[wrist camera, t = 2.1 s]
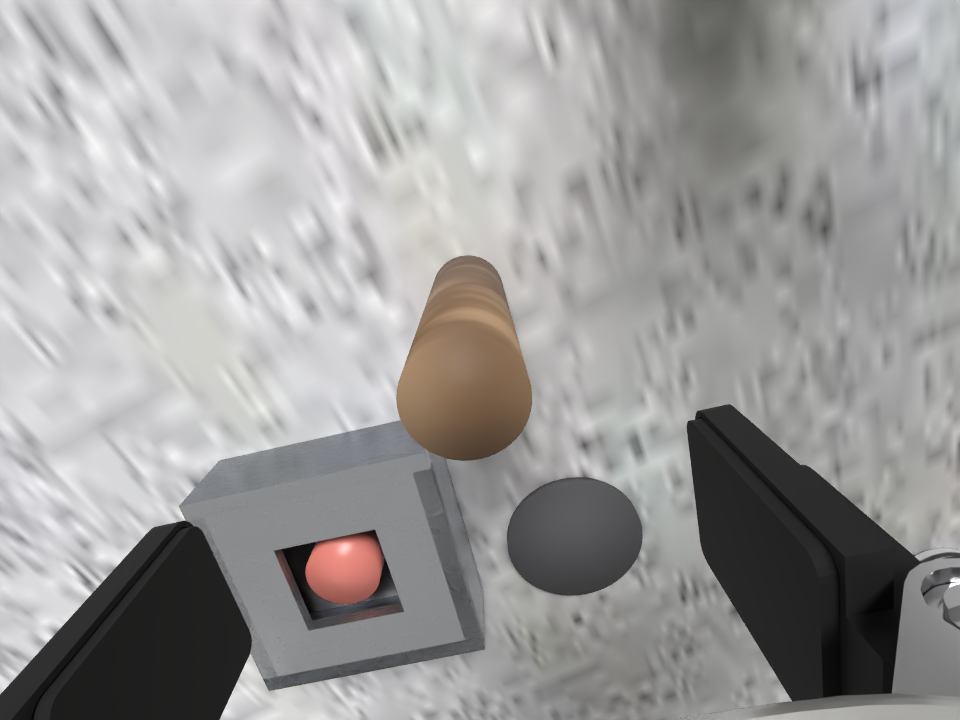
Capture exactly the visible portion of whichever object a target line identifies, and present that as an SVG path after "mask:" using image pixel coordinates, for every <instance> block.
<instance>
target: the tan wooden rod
mask: <svg viewBox="0 0 960 720" xmlns="http://www.w3.org/2000/svg"><path fill="white" fill-rule="evenodd" d="M396 399H397V408H398V413H399V416H400V419H401V421H402V424H403V425H404V427H405V429H406V431H407V432H408V433H409V435H410V436H411V437H412V438H413V439H414V440H415V441H416V442H417V443H418V444H419V445H421V446H422V447H423V448H425V449H426V450H428V451H429V452H431V453H433V454H436V455H438V456H441V457H444V458H447V459H453V460H462V461H465V460H476V459H482V458H485V457H489V456H491V455H493V454H496V453H498V452H499V451H501V450H503V449H504V448H506V447H507V446H509V445H510V444H511V443H512V442H513V441H514V440H515V439H516V438H517V437H518V436H519V434H520V433H521V432H522V430H523V429H524V427H525V425H526V423H527V421H528V418H529V415H530V412H531V406H532V391H531V385H530V381H529V378H528V374H527V370H526V367H525V363H524V360H523V356H522V352H521V349H520V345H519V342H518V338H517V335H516V331H515V327H514V324H513V320H512V317H511V313H510V310H509V306H508V302H507V299H506V295H505V292H504V288H503V284H502V281H501V278H500V276H499V274H498V272H497V270H496V269H495V268H494V267H493V266H492V265H491V264H490V263H489V262H487V261H486V260H484V259H482V258H479V257H476V256H460V257H457V258H454V259H452V260H450V261H449V262H447V263H446V264H445V265H444V266H443V267H442V268H441V269H440V270H439V272H438V274H437V276H436V278H435V281H434V284H433V286H432V289H431V292H430V295H429V298H428V301H427V303H426V306H425V309H424V312H423V315H422V317H421V320H420V323H419V326H418V329H417V332H416V334H415V337H414V340H413V343H412V346H411V349H410V351H409V354H408V357H407V360H406V363H405V366H404V368H403V371H402V374H401V377H400V380H399V383H398V388H397V398H396Z"/></svg>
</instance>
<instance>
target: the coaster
mask: <svg viewBox="0 0 960 720" xmlns="http://www.w3.org/2000/svg"><path fill="white" fill-rule="evenodd" d="M507 542H508V550H509V555H510V558H511V561H512V563H513V565H514V567H515V568H516V570H517V571H518V573H519V574H520V575H521V576H522V577H523V578H524V579H525V580H526V581H528V582H529V583H530V584H532V585H534V586H535V587H537V588H539V589H541V590H544V591H547V592H550V593H554V594H559V595H582V594H588V593H592V592H595V591H598V590H601V589H603V588H605V587H607V586H609V585H611V584H613V583H614V582H616V581H617V580H618V579H620V578H621V577H622V576H623V575H624V574H625V573H626V572H627V571H628V570H629V569H630V568H631V566H632V565H633V564H634V562H635V560H636V558H637V557H638V554H639V552H640V549H641V544H642V526H641V522H640V519H639V516H638V514H637V512H636V510H635V508H634V506H633V505H632V503H631V502H630V500H629V499H628V498H627V497H626V496H625V495H624V494H623V493H622V492H621V491H619V490H618V489H616V488H615V487H613V486H611V485H609V484H607V483H605V482H602V481H599V480H595V479H590V478H580V477H579V478H566V479H560V480H557V481H553V482H550V483H548V484H545V485H543V486H541V487H540V488H538V489H536V490H535V491H533V492H532V493H530V494H529V495H528V496H527V497H526V498H525V499H524V500H523V501H522V502H521V503H520V504H519V505H518V507H517V508H516V510H515V511H514V513H513V515H512V517H511V520H510V523H509V526H508V533H507Z"/></svg>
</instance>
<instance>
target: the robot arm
mask: <svg viewBox="0 0 960 720" xmlns="http://www.w3.org/2000/svg"><path fill="white" fill-rule="evenodd" d="M687 433H688V442H689V450H690V458H691V467H692V475H693V484H694V492H695V501H696V509H697V518H698V526H699V534H700V542H701V547H702V551H703V554H704V556H705V559H706V561H707V563H708V565H709V566H710V568H711V570H712V571H713V573H714V574H715V576H716V578H717V579H718V581H719V583H720V584H721V586H722V588H723V589H724V591H725V592H726V594H727V596H728V597H729V599H730V601H731V602H732V604H733V605H734V607H735V609H736V610H737V612H738V614H739V615H740V617H741V618H742V620H743V622H744V623H745V625H746V627H747V628H748V630H749V632H750V633H751V635H752V636H753V638H754V640H755V641H756V643H757V645H758V646H759V648H760V649H761V651H762V653H763V654H764V656H765V658H766V659H767V661H768V662H769V664H770V666H771V667H772V669H773V671H774V672H775V674H776V676H777V677H778V679H779V680H780V682H781V684H782V685H783V687H784V689H785V690H786V692H787V693H788V695H789V697H790V698H791V700H792V702H783V703H774V704H768V705H761V706H755V707H748V708H742V709H735V710H729V711H723V712H716V713H710V714H704V715H697V716H691V717H685V718H678V719H672V720H960V558H948V559H936V560H932V561H928V562H925V563H922V562H921V561H919V560H918V559H917V558H916V557H915V556H914V555H912V554H911V553H910V552H909V551H908V550H907V549H905V548H904V547H903V546H902V545H901V544H900V543H898V542H897V541H896V540H895V539H894V538H892V537H891V536H890V535H889V534H888V533H887V532H885V531H884V530H883V529H882V528H881V527H880V526H878V525H877V524H876V523H875V522H874V521H873V520H871V519H870V518H869V517H868V516H867V515H866V514H864V513H863V512H862V511H861V510H860V509H859V508H857V507H856V506H855V505H854V504H853V503H851V502H850V501H849V500H848V499H847V498H846V497H844V496H843V495H842V494H841V493H840V492H839V491H837V490H836V489H835V488H834V487H833V486H832V485H830V484H829V483H828V482H827V481H826V480H825V479H823V478H822V477H821V476H820V475H819V474H818V473H816V472H815V471H814V470H813V469H811V468H810V467H808V466H806V465H800V464H798V463H797V462H796V461H795V460H794V459H793V458H792V457H790V456H789V455H788V454H787V453H786V452H785V451H784V450H782V449H781V448H780V447H779V446H778V445H777V444H776V443H774V442H773V441H772V440H771V439H770V438H769V437H768V436H766V435H765V434H764V433H763V432H762V431H761V430H760V429H758V428H757V427H756V426H755V425H754V424H753V423H751V422H750V421H749V420H748V419H747V418H746V417H745V416H743V415H742V414H741V413H740V412H739V411H738V410H737V409H735V408H734V407H733V406H732V405H730V404H729V405H723V406H719V407H714V408H709V409H705V410H700V411H697V413H696V417H695V420H691V421H688V423H687ZM251 647H252V637H251V633H250V630H249V628H248V626H247V624H246V622H245V620H244V618H243V615H242V613H241V611H240V609H239V607H238V605H237V603H236V601H235V599H234V596H233V594H232V592H231V590H230V588H229V586H228V584H227V582H226V579H225V577H224V575H223V573H222V571H221V569H220V567H219V565H218V563H217V560H216V558H215V556H214V554H213V552H212V550H211V548H210V546H209V544H208V541H207V539H206V537H205V535H204V533H203V531H202V530H201V529H200V528H199V527H196V526H193V525H192V524H191V523H190V522H188V521H181V522H176V523H172V524H167V525H162V526H158V527H154V528H153V529H151V530H150V531H149V532H148V533H147V534H146V535H145V536H144V537H143V539H142V540H141V541H140V542H139V543H138V544H137V545H136V546H135V547H134V548H133V549H132V551H131V552H130V553H129V554H128V555H127V556H126V557H125V558H124V559H123V560H122V562H121V563H120V564H119V565H118V566H117V567H116V568H115V569H114V570H113V571H112V573H111V574H110V575H109V576H108V577H107V578H106V579H105V580H104V581H103V582H102V584H101V585H100V586H99V587H98V588H97V589H96V590H95V591H94V592H93V593H92V595H91V596H90V597H89V598H88V599H87V600H86V601H85V602H84V603H83V604H82V606H81V607H80V608H79V609H78V610H77V611H76V612H75V613H74V614H73V615H72V617H71V618H70V619H69V620H68V621H67V622H66V623H65V624H64V625H63V626H62V628H61V629H60V630H59V631H58V632H57V633H56V634H55V635H54V636H53V637H52V639H51V640H50V641H49V642H48V643H47V644H46V645H45V646H44V647H43V648H42V650H41V651H40V652H39V653H38V654H37V655H36V656H35V657H34V658H33V659H32V661H31V662H30V663H29V664H28V665H27V666H26V667H25V668H24V669H23V670H22V671H21V673H20V674H19V675H18V676H17V677H16V678H15V679H14V680H13V681H12V682H11V684H10V685H9V686H8V687H7V688H6V689H5V690H4V691H3V692H2V693H1V695H0V720H219V719H220V717H221V715H222V713H223V711H224V709H225V706H226V704H227V702H228V700H229V698H230V696H231V693H232V691H233V689H234V687H235V685H236V683H237V681H238V678H239V676H240V674H241V672H242V670H243V668H244V665H245V663H246V661H247V659H248V657H249V655H250V652H251Z"/></svg>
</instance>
